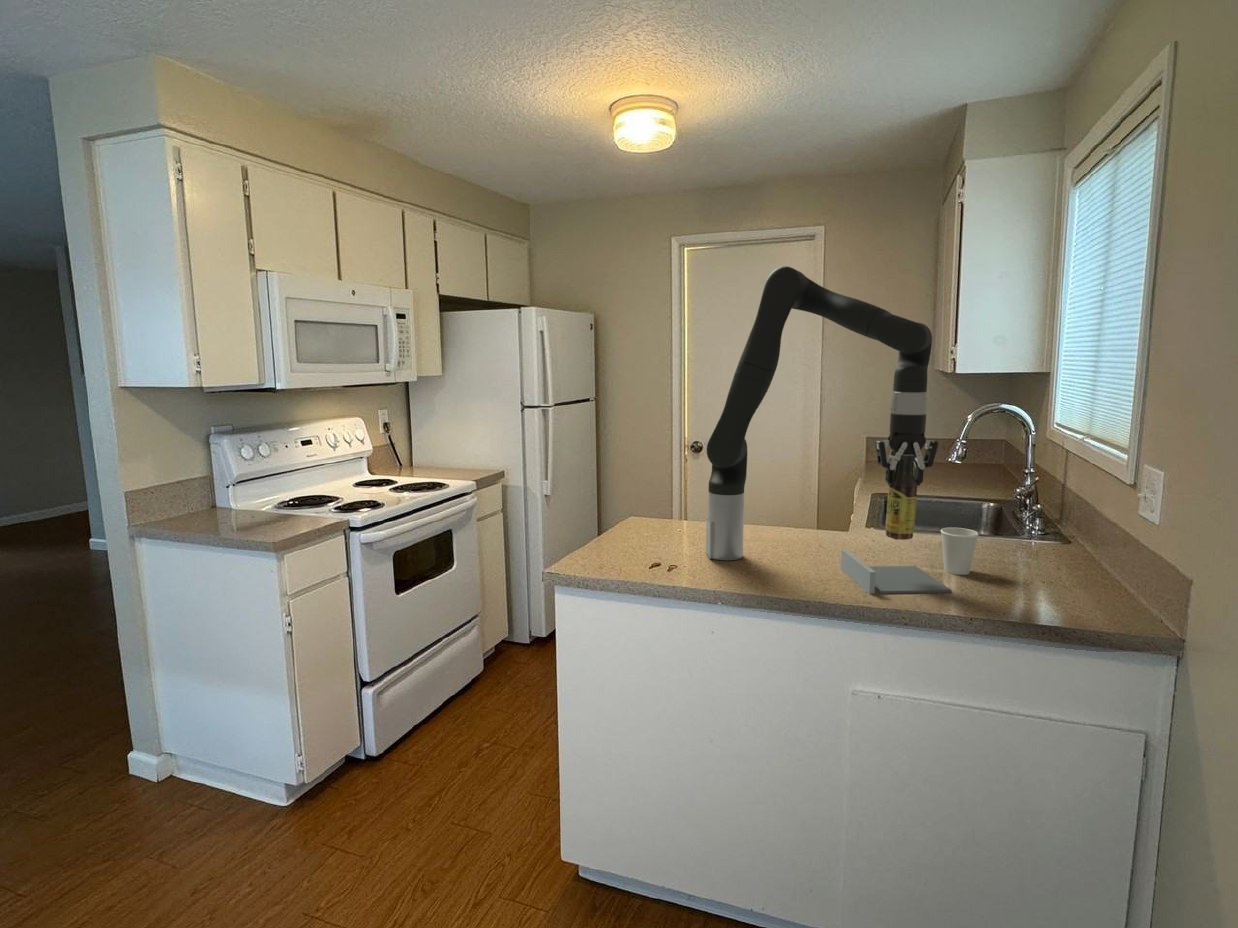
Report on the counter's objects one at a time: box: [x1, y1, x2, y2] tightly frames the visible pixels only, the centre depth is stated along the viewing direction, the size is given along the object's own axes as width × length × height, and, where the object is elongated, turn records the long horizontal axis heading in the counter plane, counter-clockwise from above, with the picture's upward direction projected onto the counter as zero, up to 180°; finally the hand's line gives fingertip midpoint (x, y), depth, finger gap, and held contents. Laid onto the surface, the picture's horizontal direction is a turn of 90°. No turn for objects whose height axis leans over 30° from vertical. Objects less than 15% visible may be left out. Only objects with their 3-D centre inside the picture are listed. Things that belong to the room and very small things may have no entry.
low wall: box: [840, 549, 876, 595], centre depth 166 cm, size 1×18×5 cm, turn 2°
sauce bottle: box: [885, 454, 918, 541], centre depth 163 cm, size 7×6×20 cm
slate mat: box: [869, 565, 952, 595], centre depth 166 cm, size 16×18×1 cm
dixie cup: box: [940, 527, 979, 576], centre depth 172 cm, size 8×8×10 cm
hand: (903, 484), depth 163 cm, fingers closed on sauce bottle, 5 cm apart
